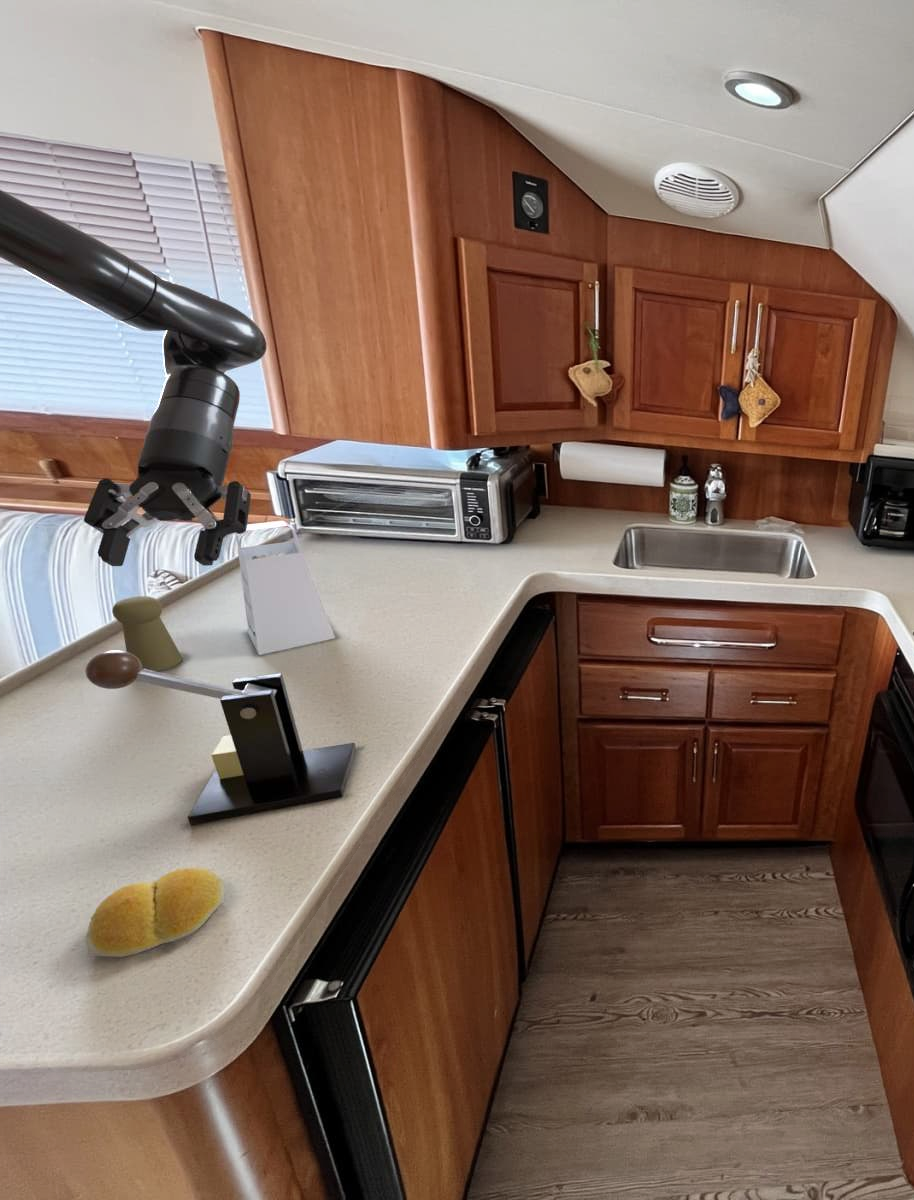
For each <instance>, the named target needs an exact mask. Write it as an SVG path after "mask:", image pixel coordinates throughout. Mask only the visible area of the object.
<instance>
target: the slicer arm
mask: <svg viewBox="0 0 914 1200" xmlns="http://www.w3.org/2000/svg"><path fill="white" fill-rule="evenodd" d="M85 675H86V678H87V680H88V681H89V682H90V683H91V684H93V685H94V686H96V687H98V688H101V689H107V690H117V689H122V688H126V687H129V686H130V685H132V684H133V683H135V682H137V683H143V684H148V685H153V686H158V687H161V688H166V689H172V690H175V691H176V690H177V691H180V692H185V693H191V694H196V695H200V696H205V697H210V698H215V699H220V700H221V698H222V697H223V696H228V695H236V694H244V693H253V692H261V691H269V690H273V693H274V696H275V694H276V692H277V690H276V689H271V688H267V687H262V686H258V685H253V684H249V683H248V684H247V685H246V687H245V688H244V690H238V689H234V687H229V686H223V685H219V684H214V683H210V682H206V681H202V680H196V679H192V678H187V677H183V676H178V675H174V674H169V673H164V672H160V671H156V672H155V671H151V670H146V669H142V664H141V662H140V660H139V659H138V658H137V657H136V656H135V655H133V654H131V653H129V652H126V650H118V649H117V650H107V651H103V652H100V653H99V654H96V655H95V656H93V657H92V658H91V659H90V660H89V661H88V662H87V665H86V666H85Z"/></svg>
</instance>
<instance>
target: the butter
mask: <svg viewBox="0 0 914 1200" xmlns="http://www.w3.org/2000/svg"><path fill="white" fill-rule="evenodd" d="M211 758H212V759H211V760H212V761H213V764H214V768H215V770H216V771H217V774H218V777H219V779H223V778H229V777H235V776H241V775H243V771H242V768H241V765H240V762H239V759H238V756H237V752H236V749H235V746H234V743H233V740H232V737H231V734H230V735H224V736H222V737H221V738H220V740H219V741H218V743H217V745H216V747H215V748H214V750H213V751H212V753H211Z"/></svg>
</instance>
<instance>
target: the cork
mask: <svg viewBox="0 0 914 1200" xmlns="http://www.w3.org/2000/svg"><path fill="white" fill-rule="evenodd" d="M111 609H112V615H113V617H114V619H115V620H116V621H117V622H119V623H121V626H122V632H123V639H124V645H125V652H129V653H131V654H133V655H135V656H136V657H137V658H138V659H139V660H140V662H141V664H142V669H146V670H151V671H155V672H160V671H165V670H167V669H171V668H173V667H175V666H178V665H179V664H180V663H181V662H182V661H183V659H184V658H183V656H182V654H181V652H180V650H179V649H178V647H177V645H176V643H175V641H174V640H173V638H172V636H171V634H170V633H169V630H168V629H167V627H166V625H165V624H164V622H163V620H162V618H161V615H162V613H163V606H162V604H161V603H160V601H159V600H158V599H156V598H155V597H152V596H148V595H139V596H132V597H127V598H123V599H121V600H119V601H117V602H116V603H114V604H113V607H112V608H111Z"/></svg>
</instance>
